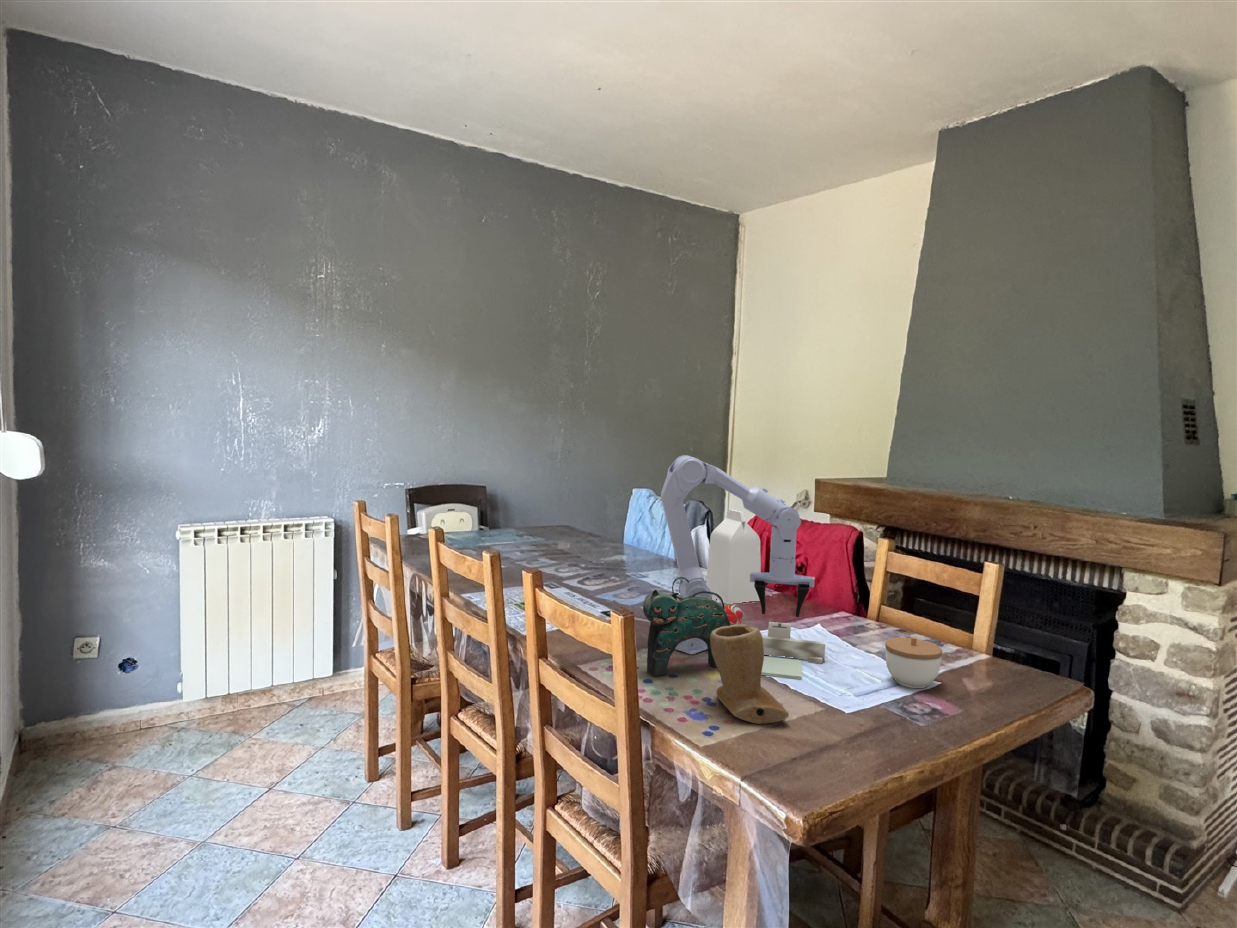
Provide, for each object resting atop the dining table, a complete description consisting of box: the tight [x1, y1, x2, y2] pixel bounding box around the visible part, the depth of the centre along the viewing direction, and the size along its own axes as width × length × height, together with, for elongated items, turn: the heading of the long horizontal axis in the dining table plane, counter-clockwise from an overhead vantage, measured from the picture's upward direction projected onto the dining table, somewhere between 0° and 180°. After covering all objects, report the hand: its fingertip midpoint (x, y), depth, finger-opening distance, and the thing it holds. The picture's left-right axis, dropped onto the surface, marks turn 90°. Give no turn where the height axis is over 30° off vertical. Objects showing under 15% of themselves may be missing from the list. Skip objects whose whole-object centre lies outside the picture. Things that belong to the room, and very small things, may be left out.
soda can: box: [724, 604, 746, 626], centre depth 167 cm, size 7×7×12 cm
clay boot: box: [710, 624, 790, 725], centre depth 127 cm, size 15×12×15 cm
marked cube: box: [767, 621, 792, 639], centre depth 163 cm, size 5×5×5 cm
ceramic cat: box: [642, 576, 730, 678], centre depth 147 cm, size 20×6×20 cm, turn 112°
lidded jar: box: [884, 636, 943, 689], centre depth 143 cm, size 11×11×9 cm
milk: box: [705, 508, 762, 605], centre depth 205 cm, size 12×12×26 cm
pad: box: [761, 656, 803, 680], centre depth 149 cm, size 10×10×1 cm
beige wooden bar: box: [762, 635, 826, 664], centre depth 157 cm, size 20×4×4 cm, turn 76°
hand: (780, 614), depth 163 cm, fingers open, 7 cm apart
